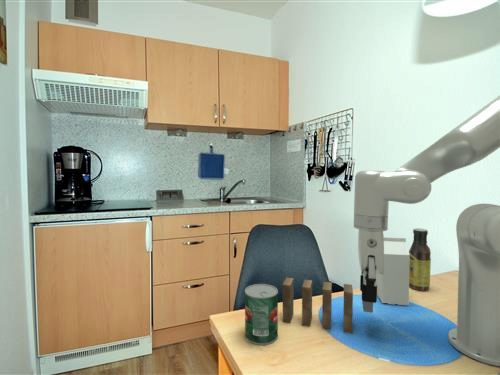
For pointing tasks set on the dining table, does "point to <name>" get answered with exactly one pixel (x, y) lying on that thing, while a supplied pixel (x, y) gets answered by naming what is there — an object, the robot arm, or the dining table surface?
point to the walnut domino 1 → (288, 300)
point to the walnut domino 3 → (326, 305)
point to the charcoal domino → (367, 304)
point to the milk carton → (394, 273)
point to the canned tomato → (261, 314)
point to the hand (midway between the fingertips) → (367, 295)
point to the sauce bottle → (419, 261)
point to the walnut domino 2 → (307, 303)
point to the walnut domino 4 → (348, 308)
